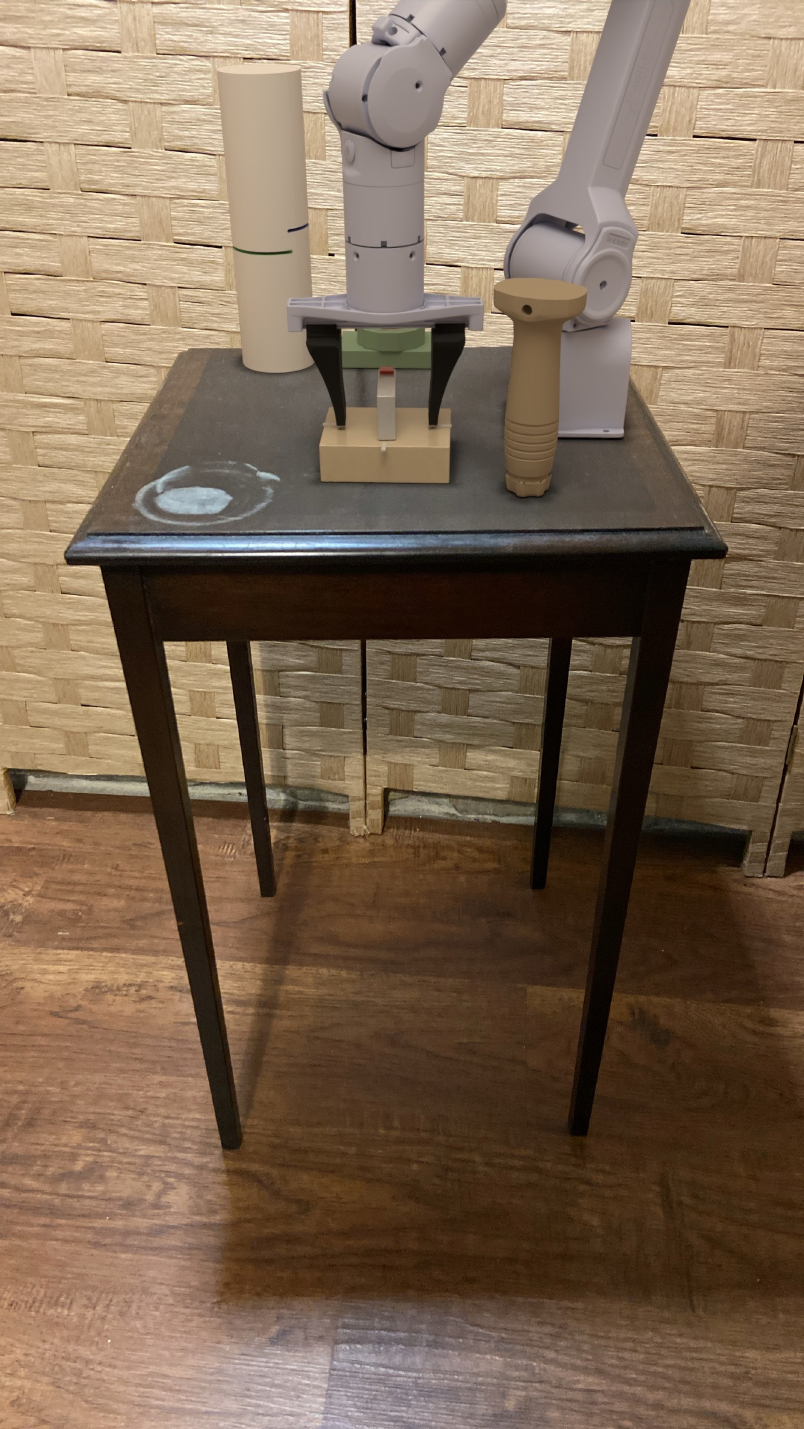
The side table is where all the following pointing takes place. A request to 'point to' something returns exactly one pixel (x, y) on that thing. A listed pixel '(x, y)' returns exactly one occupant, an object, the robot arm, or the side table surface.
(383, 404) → the grey rectangular plate
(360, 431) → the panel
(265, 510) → the side table surface
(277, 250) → the cylindrical container
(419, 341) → the button block
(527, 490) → the handle
